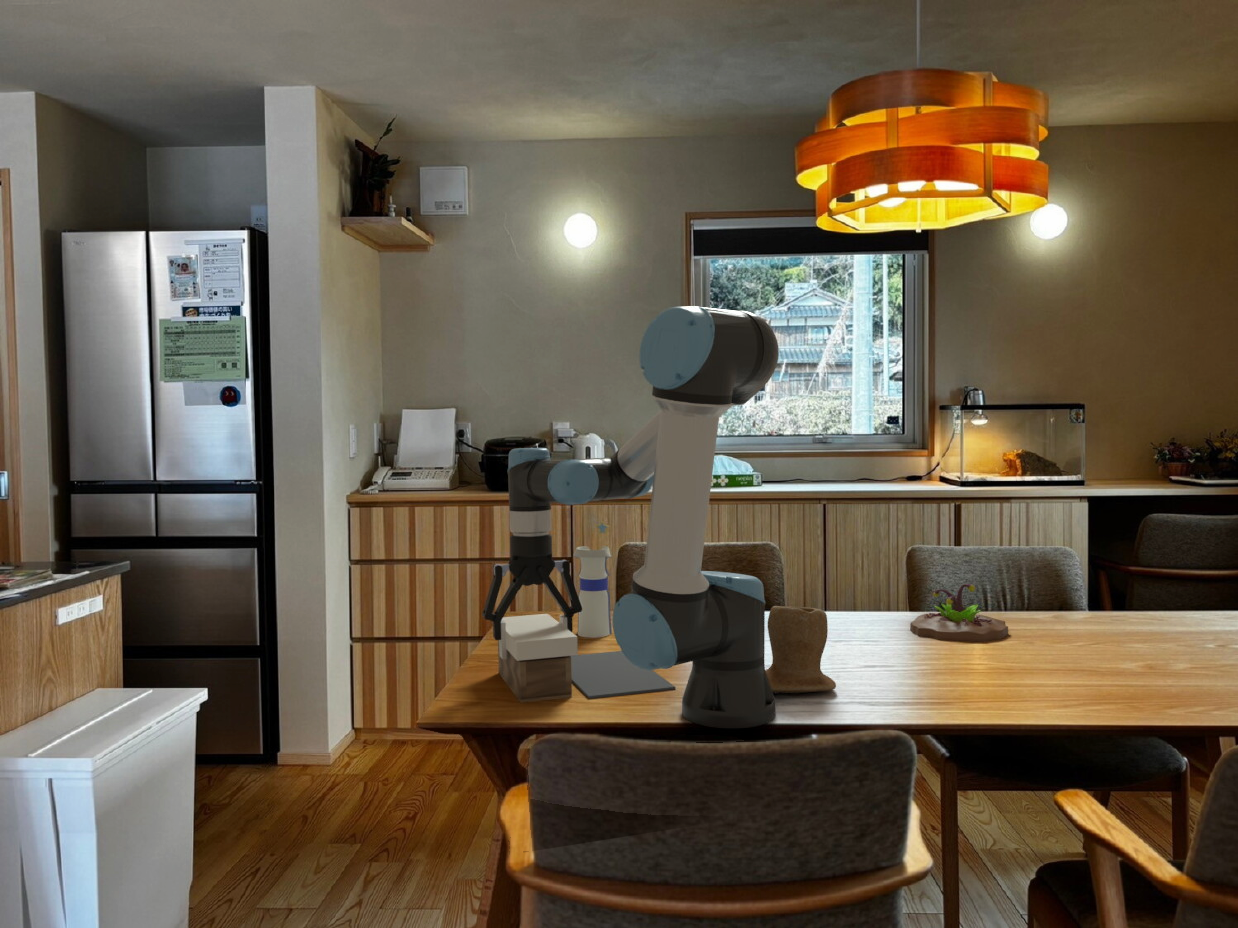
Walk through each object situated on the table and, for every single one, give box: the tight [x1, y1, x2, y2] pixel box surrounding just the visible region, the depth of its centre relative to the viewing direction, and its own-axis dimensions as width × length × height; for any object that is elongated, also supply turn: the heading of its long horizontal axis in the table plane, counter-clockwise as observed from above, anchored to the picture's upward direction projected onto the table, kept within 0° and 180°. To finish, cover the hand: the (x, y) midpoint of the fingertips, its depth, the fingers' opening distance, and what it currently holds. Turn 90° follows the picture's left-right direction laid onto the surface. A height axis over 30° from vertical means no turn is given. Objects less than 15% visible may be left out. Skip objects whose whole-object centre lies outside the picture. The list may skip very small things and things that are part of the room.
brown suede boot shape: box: [765, 605, 837, 694], centre depth 168 cm, size 15×12×15 cm
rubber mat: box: [570, 650, 676, 700], centre depth 180 cm, size 28×16×1 cm, turn 18°
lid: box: [502, 613, 579, 661], centre depth 173 cm, size 22×11×3 cm, turn 18°
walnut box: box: [497, 640, 573, 704], centre depth 173 cm, size 20×9×7 cm, turn 18°
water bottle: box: [572, 520, 613, 639], centre depth 213 cm, size 8×9×25 cm
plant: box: [909, 583, 1009, 643], centre depth 211 cm, size 20×20×11 cm
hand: (533, 654), depth 173 cm, fingers closed on lid, 11 cm apart
